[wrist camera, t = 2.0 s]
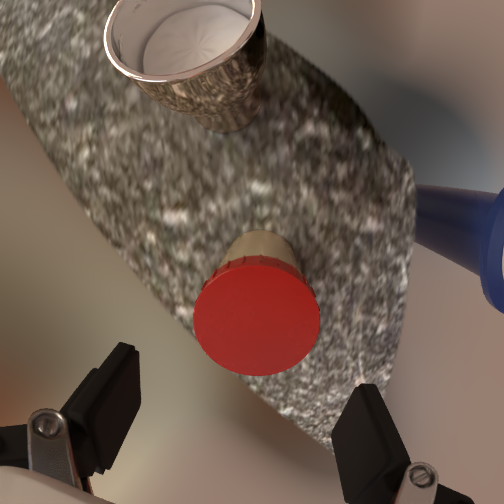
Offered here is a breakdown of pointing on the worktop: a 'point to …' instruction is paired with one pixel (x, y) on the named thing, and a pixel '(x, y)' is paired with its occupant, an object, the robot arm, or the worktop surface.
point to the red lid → (256, 316)
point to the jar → (261, 247)
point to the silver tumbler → (192, 56)
